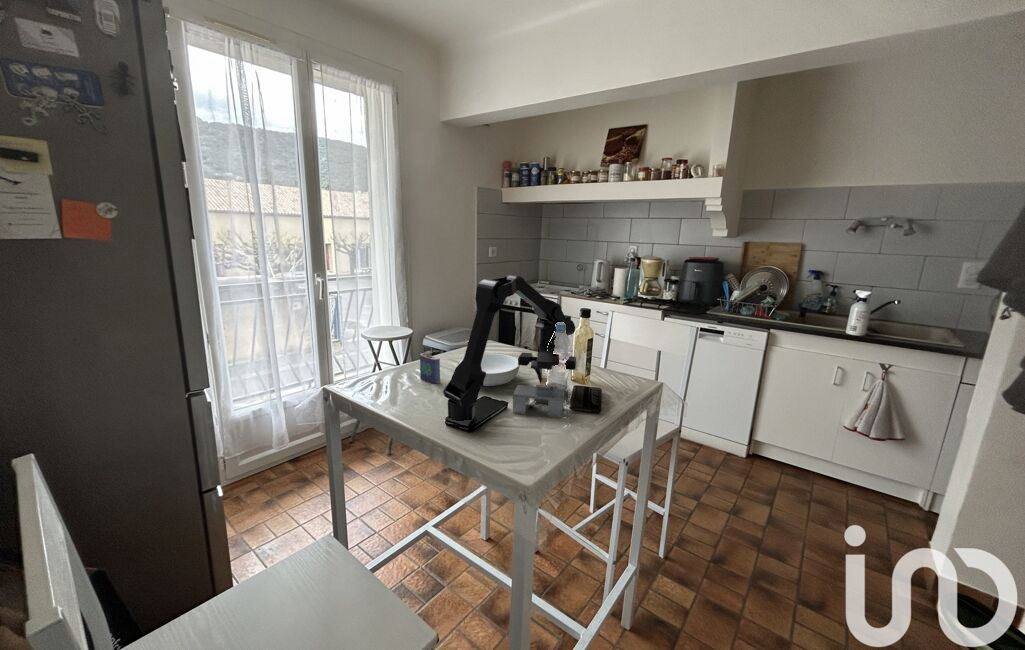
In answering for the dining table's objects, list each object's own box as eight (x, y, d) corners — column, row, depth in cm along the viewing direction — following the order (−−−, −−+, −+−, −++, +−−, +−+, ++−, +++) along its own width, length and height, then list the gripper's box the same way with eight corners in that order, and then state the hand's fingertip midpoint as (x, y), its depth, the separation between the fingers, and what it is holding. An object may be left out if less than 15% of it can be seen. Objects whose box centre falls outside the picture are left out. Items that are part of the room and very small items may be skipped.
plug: (534, 402, 125) (534, 389, 123) (540, 384, 138) (541, 373, 137) (548, 403, 124) (549, 390, 123) (553, 386, 137) (554, 374, 136)
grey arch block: (512, 412, 117) (513, 394, 116) (517, 402, 124) (517, 384, 122) (561, 418, 114) (562, 399, 113) (563, 407, 121) (564, 389, 120)
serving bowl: (521, 371, 150) (522, 354, 148) (516, 395, 130) (516, 374, 128) (466, 368, 152) (466, 351, 150) (452, 391, 132) (452, 371, 130)
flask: (442, 382, 138) (441, 353, 136) (435, 385, 136) (434, 355, 133) (424, 376, 144) (423, 347, 141) (417, 378, 142) (416, 349, 139)
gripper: (514, 345, 125) (513, 391, 129) (575, 349, 121) (572, 397, 125) (521, 335, 136) (520, 379, 140) (577, 339, 132) (575, 384, 136)
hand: (546, 385), depth 135 cm, fingers closed on plug, 3 cm apart
